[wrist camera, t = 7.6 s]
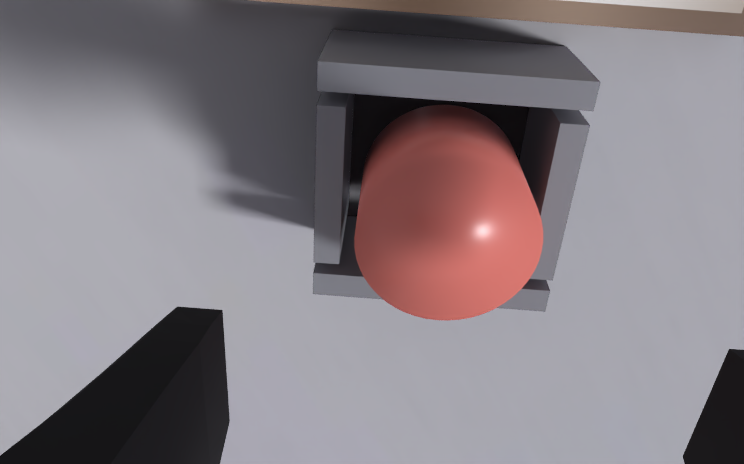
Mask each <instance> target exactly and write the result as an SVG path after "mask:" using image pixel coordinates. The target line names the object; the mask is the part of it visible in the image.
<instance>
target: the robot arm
mask: <svg viewBox="0 0 744 464" xmlns="http://www.w3.org/2000/svg"><path fill="white" fill-rule="evenodd" d="M228 426H229V406H228V390H227V375H226V359H225V344H224V328H223V313H222V310H214V309H200V308H187V307H177V308H175V309H174V310H173V311H172V312H170V313H169V314H168V315H167V316H166V317H165V318H163V319H162V320H161V321H160V322H159V323H158V324H156V325H155V326H154V327H153V328H152V329H151V330H150V331H149V332H147V333H146V334H145V335H144V336H143V337H142V338H141V339H140V340H138V341H137V342H136V343H135V344H134V345H133V346H132V347H131V348H130V349H128V350H127V351H126V352H125V353H124V354H123V355H122V356H120V357H119V358H118V359H117V360H116V361H115V362H114V363H113V364H111V365H110V366H109V367H108V368H107V369H106V370H105V371H103V372H102V373H101V374H100V375H99V376H98V377H96V378H95V379H94V380H93V381H92V382H91V383H89V384H88V385H87V386H86V387H85V388H83V389H82V390H81V391H80V392H79V393H78V394H76V395H75V396H74V397H73V398H72V399H70V400H69V401H68V402H67V403H66V404H65V405H63V406H62V407H61V408H60V409H59V410H57V411H56V412H55V413H54V414H53V415H51V416H50V417H49V418H48V419H47V420H45V421H44V422H43V423H42V424H40V425H39V426H38V427H37V428H35V429H34V430H33V431H31V432H30V433H29V434H28V435H26V436H25V437H24V438H22V439H21V440H20V441H19V442H17V443H16V444H15V445H13V446H12V447H11V448H10V449H8V450H7V451H6V452H4V453H3V454H2V455H1V456H0V464H220V460H221V456H222V452H223V447H224V443H225V439H226V434H227V430H228ZM683 459H684V462H685V464H744V350H736V349H729V351H728V353H727V355H726V358H725V360H724V362H723V364H722V367H721V369H720V371H719V374H718V376H717V378H716V381H715V383H714V385H713V388H712V390H711V392H710V395H709V397H708V399H707V401H706V404H705V406H704V408H703V411H702V413H701V415H700V418H699V420H698V422H697V425H696V427H695V429H694V432H693V434H692V436H691V439H690V441H689V443H688V445H687V448H686V450H685V452H684V455H683Z"/></svg>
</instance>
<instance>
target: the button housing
mask: <svg viewBox="0 0 744 464" xmlns="http://www.w3.org/2000/svg"><path fill="white" fill-rule="evenodd" d="M599 86H600V81H599V80H598V79H597V78H596V77H595V76H594V75H593V74H592V73H591V72H590V71H589V70H588V69H587V67H586V66H585V65H584V64H583V63H582V62H581V61H580V60H579V59H578V58H577V57H576V56H575V55H574V54H573V53H572V52H571V51H570V50H569V49H568V48H567V47H566V46H553V45H539V44H525V43H512V42H498V41H484V40H471V39H457V38H443V37H429V36H416V35H402V34H388V33H375V32H361V31H347V30H334V29H332V31H331V33H330V35H329V38H328V40H327V42H326V44H325V46H324V48H323V51H322V53H321V55H320V57H319V59H318V62H317V91H322V92H321V95H320V98H319V100H318V103H317V112H316V162H315V212H314V262H315V268H314V272H313V294H319V295H333V296H346V297H359V298H372V299H382V298H381V297H380V296H379V295H378V294H377V293H376V292H375V291H374V290H373V289H372V288H371V287H370V285H369V284H368V283H367V281H366V280H365V278H364V276H363V274H362V272H361V270H360V268H359V265H358V262H357V259H356V254H355V248H354V236H355V229H356V221H357V217H356V216H347V213H348V207H349V189H350V168H351V148H352V128H353V108H354V94H364V95H378V96H392V97H405V98H419V99H432V100H446V101H459V102H473V103H487V104H500V105H514V106H527V107H529V112H528V118H527V123H526V128H525V133H524V139H523V144H522V149H521V155H520V160H519V163H520V166H521V168H522V171H523V173H524V176H525V178H526V181H527V183H528V186H529V188H530V191H531V193H532V195H533V198H534V200H535V203H536V205H537V208H538V211H539V214H540V217H541V220H542V226H543V246H542V252H541V256H540V259H539V262H538V264H537V267H536V269H535V271H534V273H533V274H532V276H531V277H530V279H529V280H528V282H527V283H526V284H525V285H524V286H523V288H522V289H521V290H520V291H519V292H518V293H517V294H516V295H514V296H513V297H512V298H511V299H509V300H508V301H507V302H505V303H504V304H502V305H500V306H499V307H497V308H504V309H517V310H530V311H543V312H545V310H546V306H547V302H548V297H549V293H550V289H549V287H548V284H547V281H546V280H553V277H554V273H555V268H556V264H557V260H558V256H559V252H560V248H561V244H562V239H563V235H564V231H565V227H566V223H567V219H568V215H569V210H570V206H571V202H572V198H573V194H574V190H575V185H576V181H577V177H578V173H579V169H580V165H581V161H582V156H583V152H584V148H585V144H586V140H587V136H588V132H589V127H590V125H589V124H588V122H587V121H586V120H585V118H584V117H583V116H582V114H581V113H580V111H579V110H582V111H594V107H595V103H596V98H597V94H598V90H599Z"/></svg>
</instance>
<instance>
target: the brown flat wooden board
mask: <svg viewBox="0 0 744 464" xmlns="http://www.w3.org/2000/svg"><path fill="white" fill-rule="evenodd" d="M249 1H262V2H276V3H290V4H304V5H317V6H331V7H345V8H359V9H372V10H386V11H400V12H414V13H427V14H441V15H455V16H469V17H482V18H496V19H510V20H524V21H537V22H551V23H565V24H579V25H592V26H606V27H620V28H634V29H647V30H661V31H675V32H689V33H702V34H716V35H730V36H744V0H249Z"/></svg>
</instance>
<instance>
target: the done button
mask: <svg viewBox="0 0 744 464" xmlns="http://www.w3.org/2000/svg"><path fill="white" fill-rule="evenodd" d="M542 246H543V226H542V220H541V217H540V214H539V211H538V208H537V205H536V203H535V200H534V198H533V195H532V193H531V191H530V188H529V186H528V183H527V181H526V178H525V176H524V173H523V171H522V168H521V166H520V163H519V161H518V158H517V156H516V153H515V151H514V148H513V146H512V144H511V142H510V141H509V139H508V137H507V136H506V135H505V133H504V132H503V131H502V130H501V129H500V128H499V127H498V125H497V124H495V123H494V122H493V121H491V120H490V119H489V118H487V117H486V116H484V115H482V114H481V113H478V112H476V111H474V110H471V109H468V108H465V107H461V106H455V105H432V106H426V107H422V108H417V109H415V110H412V111H410V112H407V113H405V114H403V115H402V116H400V117H398V118H397V119H395V120H394V121H392V122H391V123H390V124H388V125H387V126H386V127H385V128H384V129H383V130H382V131H381V132H380V134H379V135H378V136H377V137H376V139H375V140H374V142H373V144H372V145H371V147H370V149H369V151H368V154H367V156H366V160H365V163H364V169H363V177H362V184H361V192H360V199H359V206H358V214H357V221H356V229H355V236H354V248H355V254H356V259H357V262H358V265H359V268H360V270H361V272H362V274H363V276H364V278H365V280H366V281H367V283H368V284H369V285H370V287H371V288H372V289H373V290H374V291H375V292H376V293H377V294H378V295H379V296H380V297H381V298H382V299H383V300H385V301H386V302H387V303H389V304H391V305H392V306H394V307H395V308H397V309H399V310H401V311H403V312H406V313H408V314H411V315H414V316H418V317H422V318H426V319H433V320H459V319H465V318H470V317H474V316H477V315H481V314H484V313H486V312H488V311H491V310H493V309H495V308H497V307H499V306H500V305H502V304H504V303H505V302H507V301H508V300H509V299H511V298H512V297H513V296H514V295H516V294H517V293H518V292H519V291H520V290H521V289H522V288H523V286H524V285H525V284H526V283H527V282H528V280H529V279H530V277H531V276H532V274H533V273H534V271H535V269H536V267H537V264H538V262H539V259H540V256H541V252H542Z"/></svg>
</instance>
